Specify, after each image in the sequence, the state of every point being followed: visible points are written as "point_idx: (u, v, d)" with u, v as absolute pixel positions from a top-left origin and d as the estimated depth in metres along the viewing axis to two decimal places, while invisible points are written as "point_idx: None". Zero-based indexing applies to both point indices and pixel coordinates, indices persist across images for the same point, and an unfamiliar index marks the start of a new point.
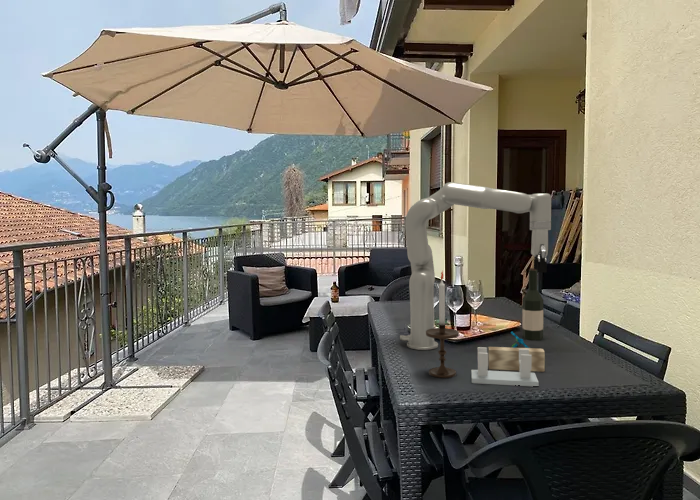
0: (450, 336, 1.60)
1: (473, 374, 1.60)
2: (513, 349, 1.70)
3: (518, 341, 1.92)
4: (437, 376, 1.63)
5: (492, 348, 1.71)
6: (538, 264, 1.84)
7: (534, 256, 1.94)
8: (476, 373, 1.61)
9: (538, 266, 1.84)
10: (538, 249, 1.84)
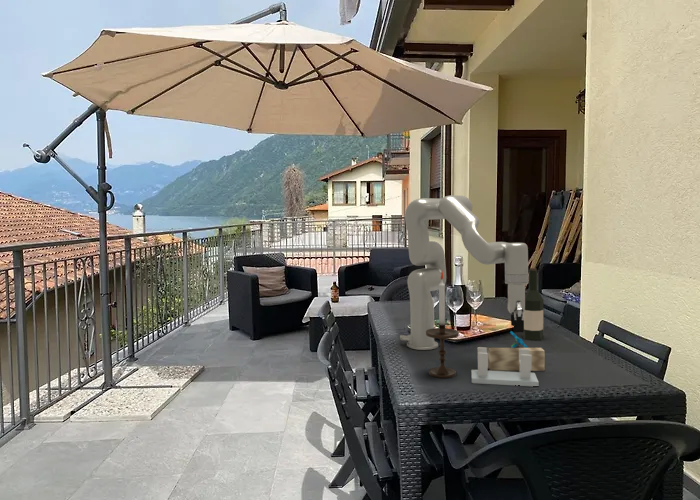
0: (450, 336, 1.60)
1: (473, 374, 1.60)
2: (513, 349, 1.70)
3: (517, 341, 1.92)
4: (437, 376, 1.63)
5: (493, 349, 1.70)
6: (514, 323, 1.64)
7: None
8: (476, 373, 1.61)
9: (514, 325, 1.64)
10: (514, 306, 1.64)
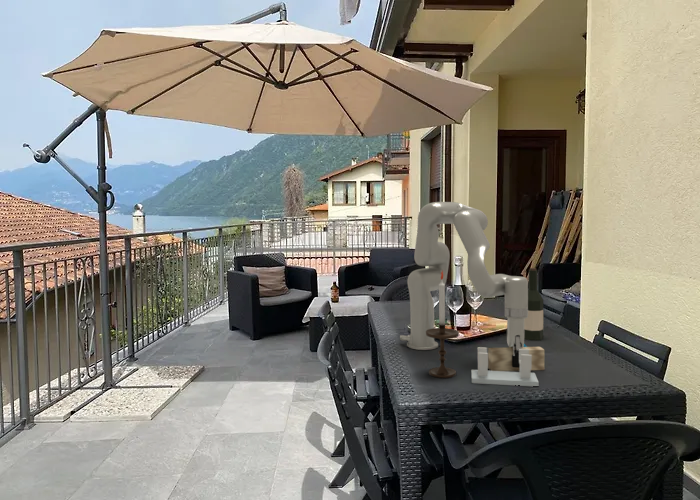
0: (450, 336, 1.60)
1: (473, 374, 1.60)
2: None
3: None
4: (437, 376, 1.63)
5: (493, 349, 1.70)
6: (513, 358, 1.67)
7: None
8: (476, 373, 1.61)
9: (513, 360, 1.67)
10: (513, 340, 1.65)
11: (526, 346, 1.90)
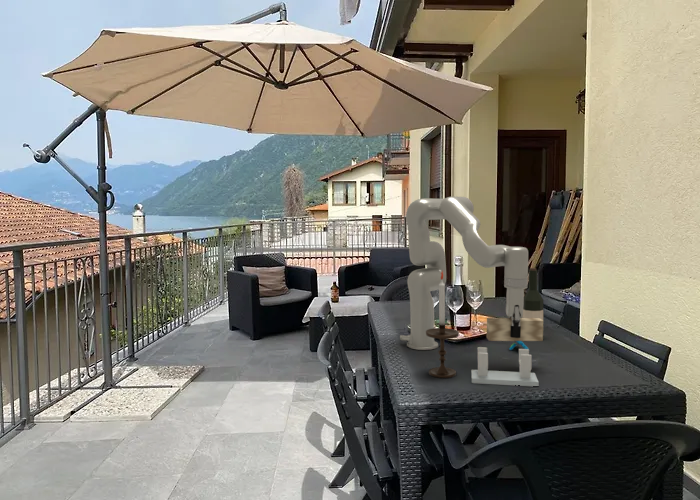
0: (450, 336, 1.60)
1: (473, 374, 1.60)
2: None
3: (516, 341, 1.92)
4: (437, 376, 1.63)
5: (491, 319, 1.70)
6: (511, 328, 1.67)
7: None
8: (476, 373, 1.61)
9: (511, 331, 1.67)
10: (512, 310, 1.64)
11: (525, 346, 1.90)
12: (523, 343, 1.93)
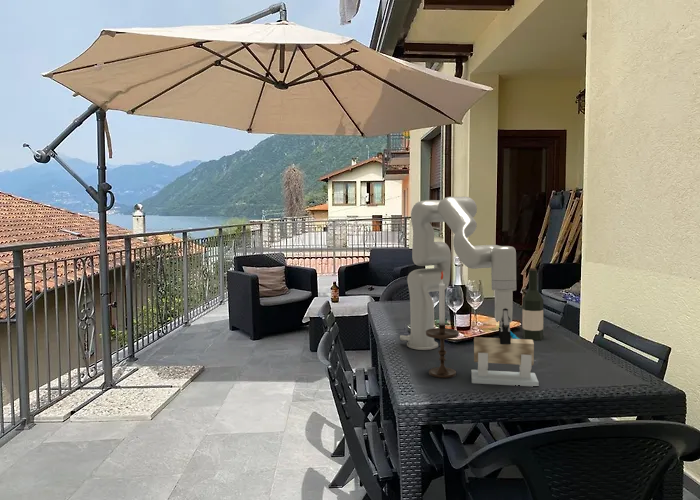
0: (450, 336, 1.60)
1: (473, 374, 1.60)
2: None
3: None
4: (437, 376, 1.63)
5: (478, 339, 1.59)
6: (501, 334, 1.55)
7: (499, 323, 1.61)
8: (476, 373, 1.61)
9: (501, 337, 1.55)
10: (501, 314, 1.52)
11: None
12: None
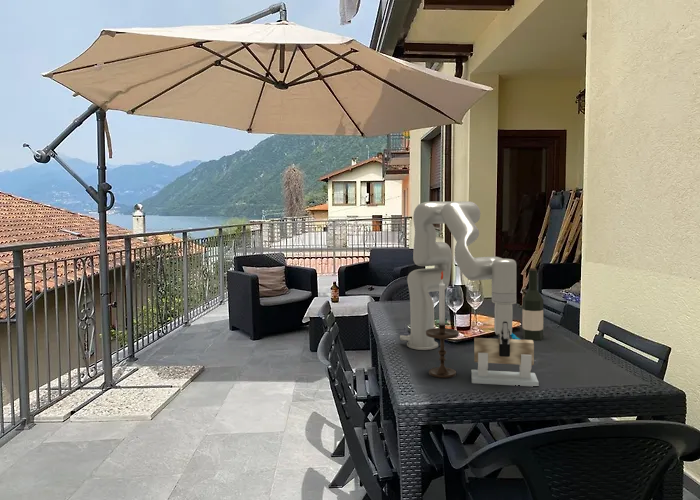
0: (450, 336, 1.60)
1: (473, 374, 1.60)
2: None
3: None
4: (437, 376, 1.63)
5: (478, 339, 1.60)
6: (500, 347, 1.56)
7: None
8: (476, 373, 1.61)
9: (500, 349, 1.56)
10: (500, 327, 1.53)
11: None
12: None
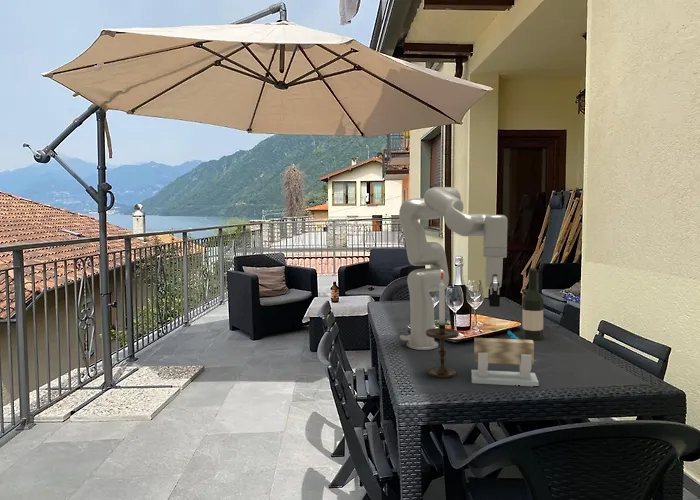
0: (450, 336, 1.60)
1: (473, 374, 1.60)
2: (500, 340, 1.58)
3: None
4: (437, 376, 1.63)
5: (478, 339, 1.60)
6: (490, 297, 1.60)
7: (489, 285, 1.69)
8: (476, 373, 1.61)
9: (490, 299, 1.60)
10: (490, 280, 1.59)
11: None
12: None
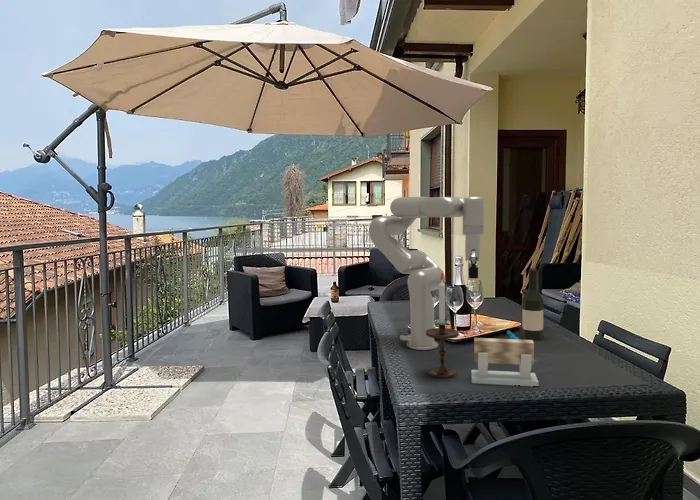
0: (450, 336, 1.60)
1: (473, 374, 1.60)
2: (500, 340, 1.58)
3: None
4: (437, 376, 1.63)
5: (478, 339, 1.60)
6: (469, 270, 1.78)
7: (469, 261, 1.88)
8: (476, 373, 1.61)
9: (469, 272, 1.78)
10: (469, 254, 1.78)
11: None
12: None
